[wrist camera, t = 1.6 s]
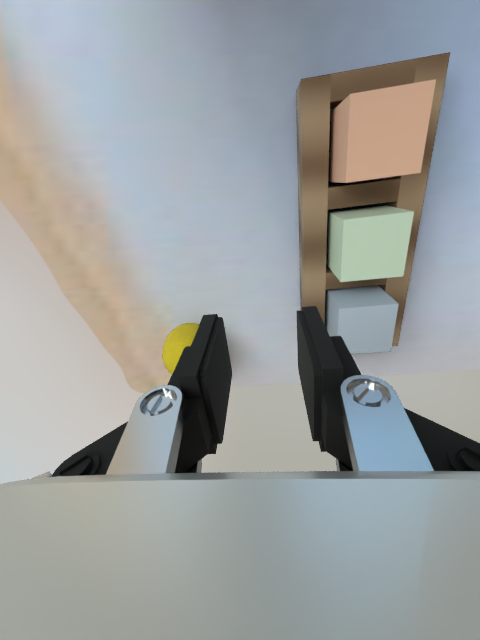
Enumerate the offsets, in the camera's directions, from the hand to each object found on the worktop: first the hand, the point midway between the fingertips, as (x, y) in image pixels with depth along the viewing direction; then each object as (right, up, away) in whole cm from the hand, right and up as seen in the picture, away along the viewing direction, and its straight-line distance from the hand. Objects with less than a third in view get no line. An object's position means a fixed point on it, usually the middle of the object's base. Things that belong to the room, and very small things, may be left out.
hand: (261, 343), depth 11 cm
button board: (+10, +10, +16) cm, 21 cm away
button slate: (+11, +2, +18) cm, 21 cm away
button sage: (+10, +9, +14) cm, 20 cm away
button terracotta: (+9, +15, +11) cm, 21 cm away
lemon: (-6, 0, +23) cm, 24 cm away
